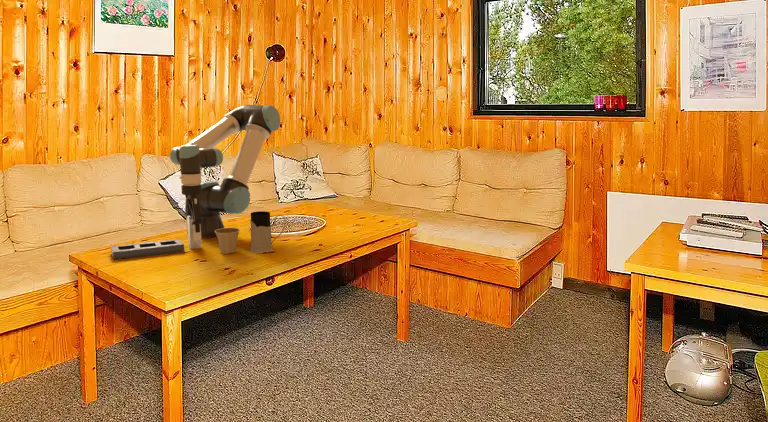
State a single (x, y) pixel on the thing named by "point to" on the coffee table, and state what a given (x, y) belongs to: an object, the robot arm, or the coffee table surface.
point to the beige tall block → (192, 234)
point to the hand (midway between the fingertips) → (194, 236)
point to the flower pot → (227, 239)
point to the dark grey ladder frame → (147, 249)
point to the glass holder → (262, 232)
